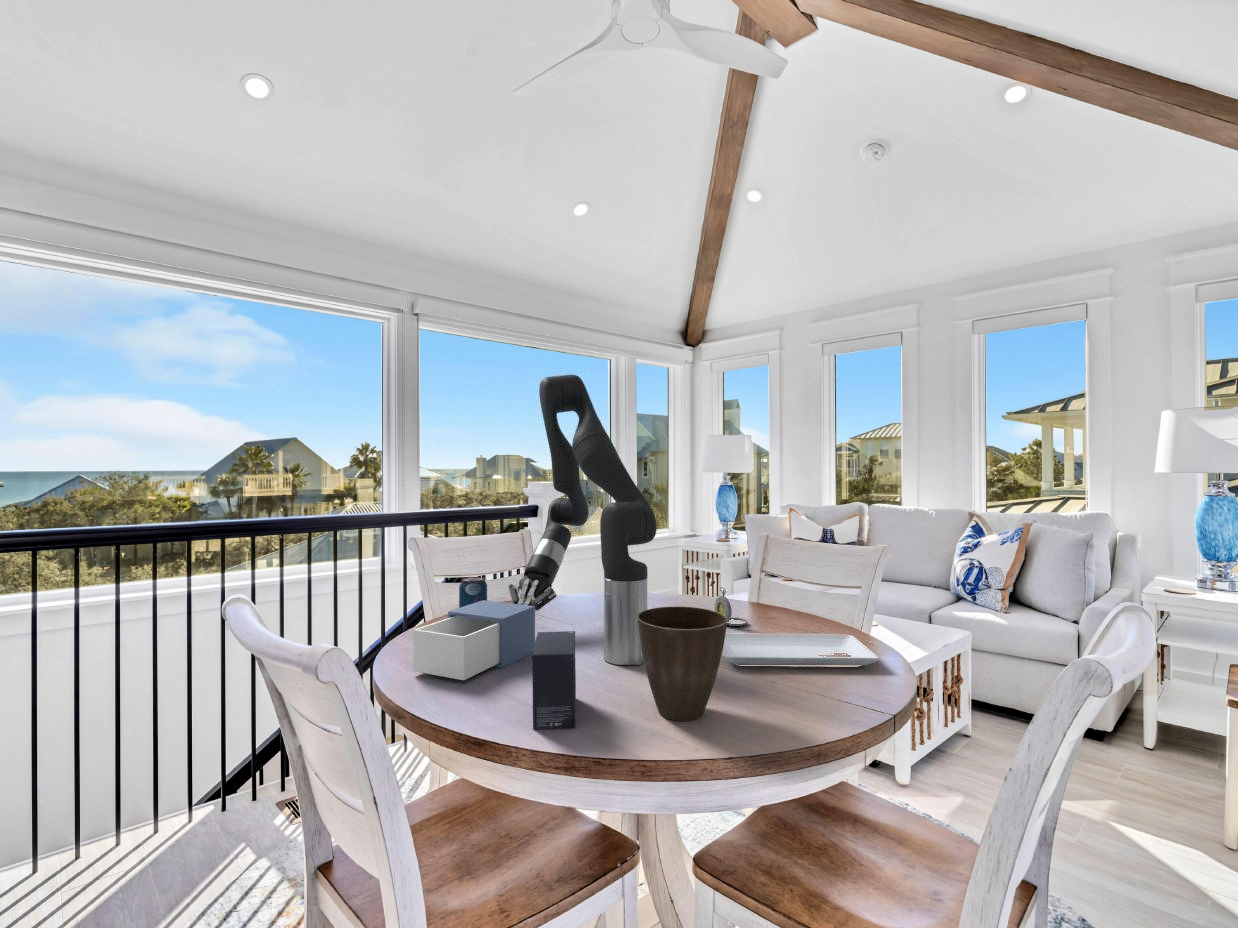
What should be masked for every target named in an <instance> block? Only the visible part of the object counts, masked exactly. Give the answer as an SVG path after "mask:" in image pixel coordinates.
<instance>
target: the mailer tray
mask: <svg viewBox="0 0 1238 928" xmlns="http://www.w3.org/2000/svg"><path fill="white" fill-rule="evenodd" d="M500 624H501V621H495V620H487V619H479V618H472V617H464V616H453V617H450V618H448V617H447V618H445V619H442V620H439V621H435V622H433V623H431V624H427V625H423V626H422V627H418V628H415V629H413V630H412V631H413V635H412V636H413V637H412V638H413V639H412V640H413V642H412V643H413V646H412V647H413V648H412V649H413V650H412V651H413V652H412V653H413V654H412V655H413V656H412V657H413V661H412V663H413V664H412V666H413V667H412V668H413V669H412V671H413V672H417V673H421V674H426V675H427V674H428V675H432V676H438V677H442V678H443V677H444V678H449V679H454V680H461V681H465V680H467V679H469V678H472V677H473V676H474V677H475V676H476V675H478V674H479V673H481V672H484V671H486V670H488V669H489V668H493V666H494V665H496V664H498V663H500Z"/></svg>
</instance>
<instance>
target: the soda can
mask: <svg viewBox="0 0 1238 928" xmlns="http://www.w3.org/2000/svg"><path fill="white" fill-rule="evenodd" d="M458 587H459V588H458V589H459V590H458V594H459V595H458V608H460V607H464V606H467V605H470V604H473V603H476V602H479V601H482V600H485V601H488V584H487V582H486V578H485V577H483V576H468V577H463V578H461V581H460V584H459V586H458Z"/></svg>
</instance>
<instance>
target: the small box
mask: <svg viewBox="0 0 1238 928" xmlns="http://www.w3.org/2000/svg"><path fill="white" fill-rule="evenodd" d="M536 634H537V635H536V636H535V646H534V649H533V653H532V655H531V662H532V666H531V667H532V669H531V670H532V671H531V672H532V675H531V676H532V677H531V678H532V681H531V682H532V729H533V731H536V730H538V731H539V730H564V729H565V730H568V729H573V730H575V729H576V727H577V725H576V724H577V722H576V720H577V719H576V718H577V717H576V715H577V714H576V713H577V709H576V708H577V707H576V706H577V705H576V704H577V701H576V700H577V698H576V696H577V695H576V693H577V690H576V688H577V685H576V683H577V682H576V681H577V679H576V677H577V675H576V631H574V630H569V631H567V630H566V631H564V630H563V631H540V632H539V631H538V632H537V633H536Z"/></svg>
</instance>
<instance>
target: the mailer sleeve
mask: <svg viewBox="0 0 1238 928" xmlns="http://www.w3.org/2000/svg"><path fill="white" fill-rule="evenodd" d="M453 616H464V617H472V618H479V619H487V620H495V621H501V624H500V663H498V664H496V665H494V666H492V668H493V667H494V668H500V669H504V668H506V667H508V666H510V665H512V664H515V662H518V661H520V660H522V659H523V658H525V657H527V656H530V655H531V654H533V649H534V646H535V641H536V610H535V606H528V605H519V604H514V603H512V602H511V603H510V602H509V603H508V602H501V601H500V602H499V601H492V600H487V601H485V600H482V601H479V602H476V603H473V604H470V605H467V606H464V607H460V608H459V607H458V608H455V609H452V610H448V611H447V618H450V617H453Z"/></svg>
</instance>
